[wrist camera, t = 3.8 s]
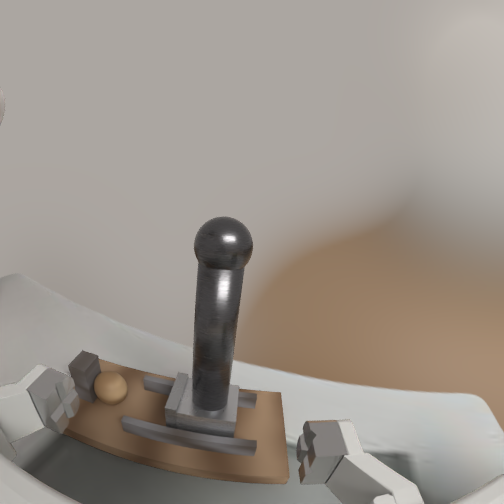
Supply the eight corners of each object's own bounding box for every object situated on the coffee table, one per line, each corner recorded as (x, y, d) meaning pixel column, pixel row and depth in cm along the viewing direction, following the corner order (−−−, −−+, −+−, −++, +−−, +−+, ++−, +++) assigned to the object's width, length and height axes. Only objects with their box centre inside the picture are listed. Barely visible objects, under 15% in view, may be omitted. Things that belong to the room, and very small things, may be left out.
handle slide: (235, 406, 25) (263, 217, 21) (232, 443, 20) (265, 227, 16) (179, 397, 25) (185, 208, 21) (167, 432, 20) (164, 214, 16)
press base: (278, 401, 29) (288, 363, 28) (285, 483, 17) (302, 450, 16) (96, 366, 29) (90, 327, 27) (50, 427, 17) (32, 385, 16)
